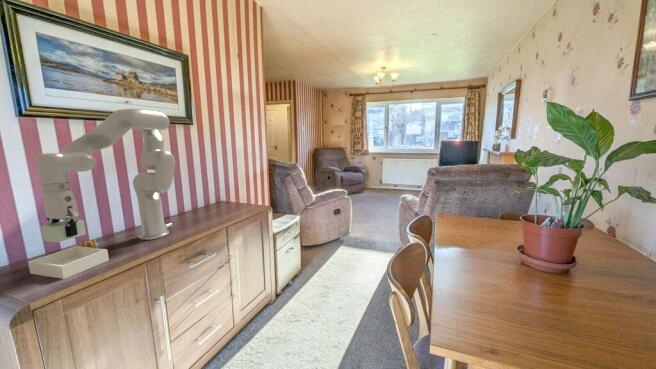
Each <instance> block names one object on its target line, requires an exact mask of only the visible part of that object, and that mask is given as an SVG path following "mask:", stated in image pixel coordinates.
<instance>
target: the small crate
mask: <svg viewBox="0 0 656 369" xmlns="http://www.w3.org/2000/svg"><path fill="white" fill-rule="evenodd" d="M69 221H70V219H69V220H68V222H69ZM76 226H77V232H78V234H77V235H75V236H71V237H67V236H66V230H65V227H66V224H65V222H64V220H62V221H61V220H60V222H57V223H52V224H49V223H48V224H45V225H41V226H40V229H41V233H42V238H43V239H42V240H43V242H49V243H61V242H65V241H67V240H70V239H75V238H77V237H81V236H85V235H86V234H87V230H86V226H85V220H84V219H78V221H77V224H76Z"/></svg>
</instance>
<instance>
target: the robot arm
mask: <svg viewBox="0 0 656 369" xmlns="http://www.w3.org/2000/svg"><path fill="white" fill-rule="evenodd" d="M168 127H170V119H169V116H168V115H166V113H164V112H161V111H156V110H155V111H154V110H147V109H141V108H124V109H123V108H122V109H117V110H114V111H113V112H112V113H111V114H110V115H109V116H107V117H106V118H105V119H104V120H103V121H102V122H101V123H99V124H98V125H97V126H96V127H95V128H94V129H92V130H90V131H88V132H86V133H85V134H83V135H81V136H80V137H78V138H76V139H74V140H73V141H71V142H70V143H68V144H67V145H66V146H65V147H63V149H61V150H59V151H58V152H57V153H55V152H52V153H50V152H49V153H46V152H45V153H39V154H37V155H36V157H35V162H36V166H37V167H36V168H37V172H38V176H39V182H40V188H41V193H42V194H43V195H42V197H43V199H42V200H43V207H44V209H43V210H44V214H43V215H44V216H45V218H46V220H47V221H48V224H52V223H57V222H61V220H62V221H64V222H65V224H66V227H65V230H66V236H67V237H71V236H75V235H77V234H78V232H77V226H76V224H77V221H78V220H79V217H80V215H79V210H78V203H77V201H76V197H75V194H74V192H73V191H72V186H71V178H70V174H69V173H71V172H78V173H79V172H80V173H82V172H84V173H85V172H89V171H92V169H94V168H95V167H96V164H97V160H96V158H95V156H94V155H93V153H95V152H97V151H100V150H103V149H107V148H110V147H112V146H114V145H115V144H116V143H117V142H118V141H119V140H121V138H122V137H123V136H124V135H125V134H126V133H128V132H129V131H130V130H135V129H137V130H139V132H140V133H141V136H142V138H143V144H142V145H143V146H142V150H141V156H140V166H141V167H142V168H143V169H144V170H149V171H150V172H148V171H147V172H145V171H144V172H139V173H137V174H136V175H135V176H134V178H133V180H132V186H133V189H134V192H135V194H136V198H137V206H138V211H139V218H140V225H141V232H142V233H140V234H139V235H138V238H139V240H145V241H148V240H156V239H159V238H164V237H166V236H168V235H169V234H170V230H169V229H168V228H171V227H172V226H173V222H169V223H167V224H166V223H165V219H164V211H163V201H162V197H161V195H160V194H163V193H166V192H168V191H169V190H170V189H171V188H172V185H173V180H174V175H175V170H176V169H175V168H176V158H175V156H174V155H173V154H172V152H171V151H168V150H164V147H165V139H164V136H163V135H162V132H160V131H165V130H167V129H168ZM151 171H154V172H151ZM69 219H70V221H69V222H68V220H69Z"/></svg>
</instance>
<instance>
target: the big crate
mask: <svg viewBox="0 0 656 369" xmlns="http://www.w3.org/2000/svg"><path fill="white" fill-rule="evenodd" d="M74 246H75V245H74ZM71 247H72V248H71ZM71 247H69V248H66V249H63V250H59V251H57V252H54V253H50V254H47V255H45V256H41V257H38V258H36V259H33V260H30V261H27V263H28V264H27V265H28V269H29V273H30V274H31V275H38V276H43V277H50V278H55V279H56V278H57V279H63V280H64V279H67V278H69V277H72V276H74V275H77V274H80V273H82V272H84V271H86V270H88V269H91V268H94V267H96V266H98V265H101V264H103V263H106V262H108V261H110V259H109V252H108V249H106V248H98V247H97V248H90V247H81V246H75V247H73V246H71Z"/></svg>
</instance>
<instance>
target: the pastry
mask: <svg viewBox="0 0 656 369" xmlns="http://www.w3.org/2000/svg"><path fill="white" fill-rule="evenodd" d="M75 246H81V247H90V248H98V243H97V240H96V239H92V240H86V241H83V242H80V243H77V244H75V245H73V246H71V247H70V248H72V247H75Z"/></svg>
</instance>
